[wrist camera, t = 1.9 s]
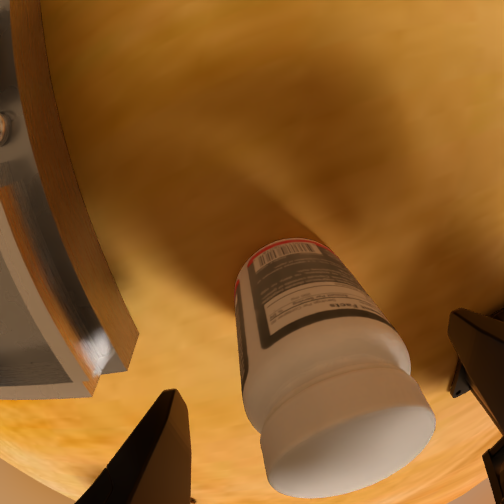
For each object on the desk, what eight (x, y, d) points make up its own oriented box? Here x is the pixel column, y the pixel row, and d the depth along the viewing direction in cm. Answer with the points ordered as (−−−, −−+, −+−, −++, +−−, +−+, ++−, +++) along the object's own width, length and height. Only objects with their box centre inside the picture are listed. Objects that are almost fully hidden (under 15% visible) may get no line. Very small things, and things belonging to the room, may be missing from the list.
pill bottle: (305, 346, 15) (359, 505, 7) (214, 310, 13) (213, 497, 6) (364, 265, 13) (481, 407, 6) (271, 213, 12) (349, 371, 4)
